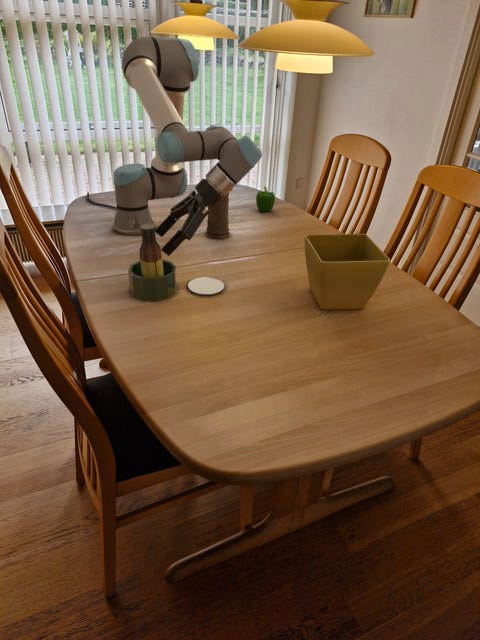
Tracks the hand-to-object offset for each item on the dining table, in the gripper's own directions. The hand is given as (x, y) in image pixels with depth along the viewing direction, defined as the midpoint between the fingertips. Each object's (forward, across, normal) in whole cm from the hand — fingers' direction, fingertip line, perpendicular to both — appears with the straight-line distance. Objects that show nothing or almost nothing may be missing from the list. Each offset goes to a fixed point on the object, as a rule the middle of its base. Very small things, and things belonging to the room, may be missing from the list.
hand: (161, 243), depth 123 cm
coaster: (+1, -1, -19) cm, 19 cm away
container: (-8, +39, -29) cm, 49 cm away
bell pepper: (-28, +64, -48) cm, 85 cm away
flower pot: (-24, -16, -45) cm, 53 cm away
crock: (+12, 0, -8) cm, 15 cm away
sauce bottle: (+12, 0, -8) cm, 15 cm away
